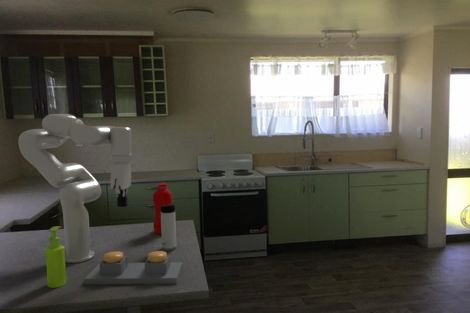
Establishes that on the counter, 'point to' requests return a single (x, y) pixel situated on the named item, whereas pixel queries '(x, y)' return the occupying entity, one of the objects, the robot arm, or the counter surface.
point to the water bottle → (160, 204)
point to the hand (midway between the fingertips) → (122, 206)
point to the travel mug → (168, 227)
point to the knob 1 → (113, 257)
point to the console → (135, 273)
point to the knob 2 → (157, 257)
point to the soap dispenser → (55, 261)
